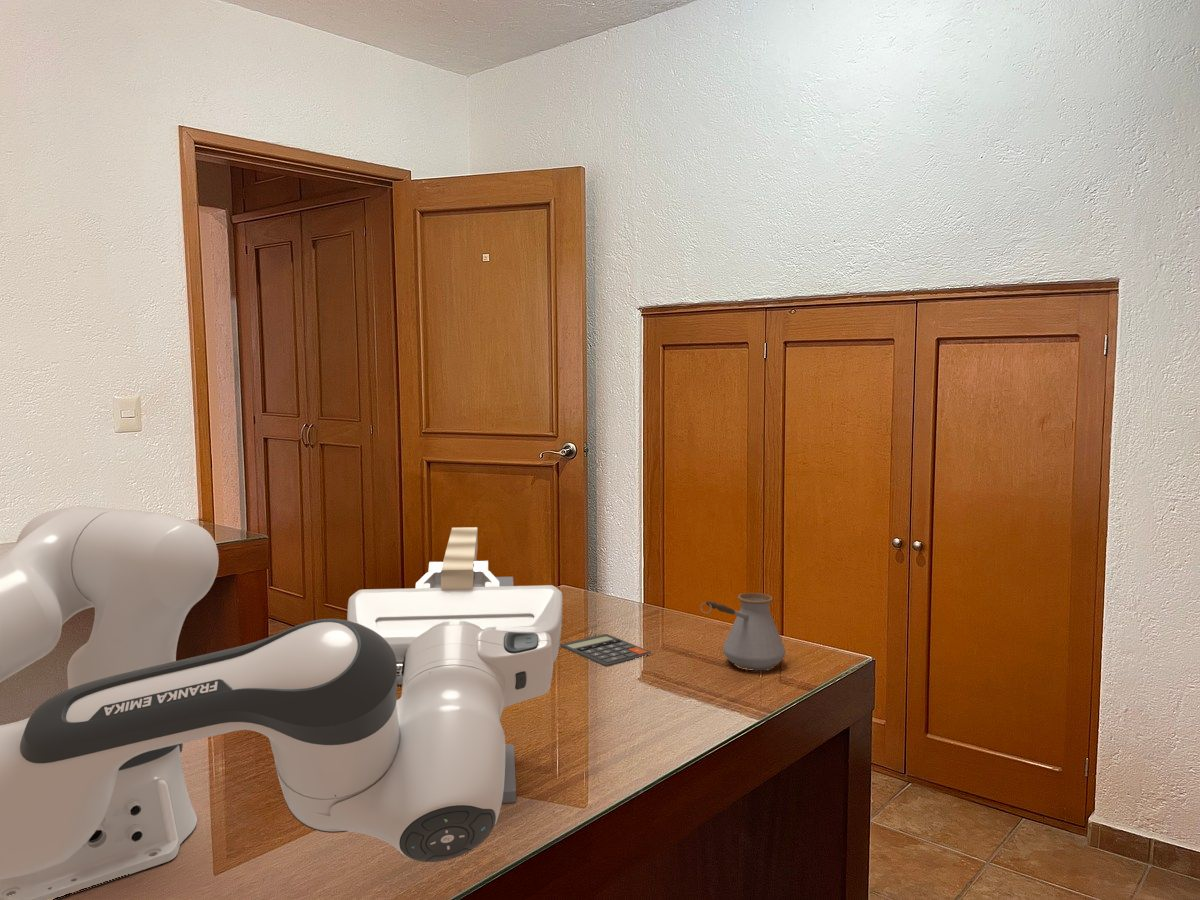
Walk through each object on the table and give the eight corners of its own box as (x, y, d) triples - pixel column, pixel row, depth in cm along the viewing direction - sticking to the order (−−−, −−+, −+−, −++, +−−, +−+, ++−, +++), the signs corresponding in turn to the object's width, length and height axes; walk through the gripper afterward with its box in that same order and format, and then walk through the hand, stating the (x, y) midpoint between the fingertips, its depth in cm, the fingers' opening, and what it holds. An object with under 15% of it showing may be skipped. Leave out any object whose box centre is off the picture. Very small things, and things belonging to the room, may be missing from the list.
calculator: (606, 664, 165) (559, 643, 176) (606, 668, 165) (559, 647, 176) (653, 651, 172) (606, 632, 183) (653, 656, 172) (606, 637, 184)
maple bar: (472, 595, 85) (472, 569, 85) (441, 595, 85) (440, 570, 85) (477, 547, 107) (477, 527, 107) (452, 548, 107) (452, 527, 107)
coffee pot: (745, 650, 174) (746, 575, 173) (797, 664, 166) (799, 585, 165) (677, 678, 159) (678, 595, 157) (730, 695, 151) (732, 608, 149)
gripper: (337, 700, 80) (356, 590, 91) (566, 691, 82) (557, 586, 93) (330, 652, 76) (350, 544, 87) (569, 644, 78) (559, 540, 90)
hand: (459, 565), depth 90 cm, fingers closed on maple bar, 3 cm apart
